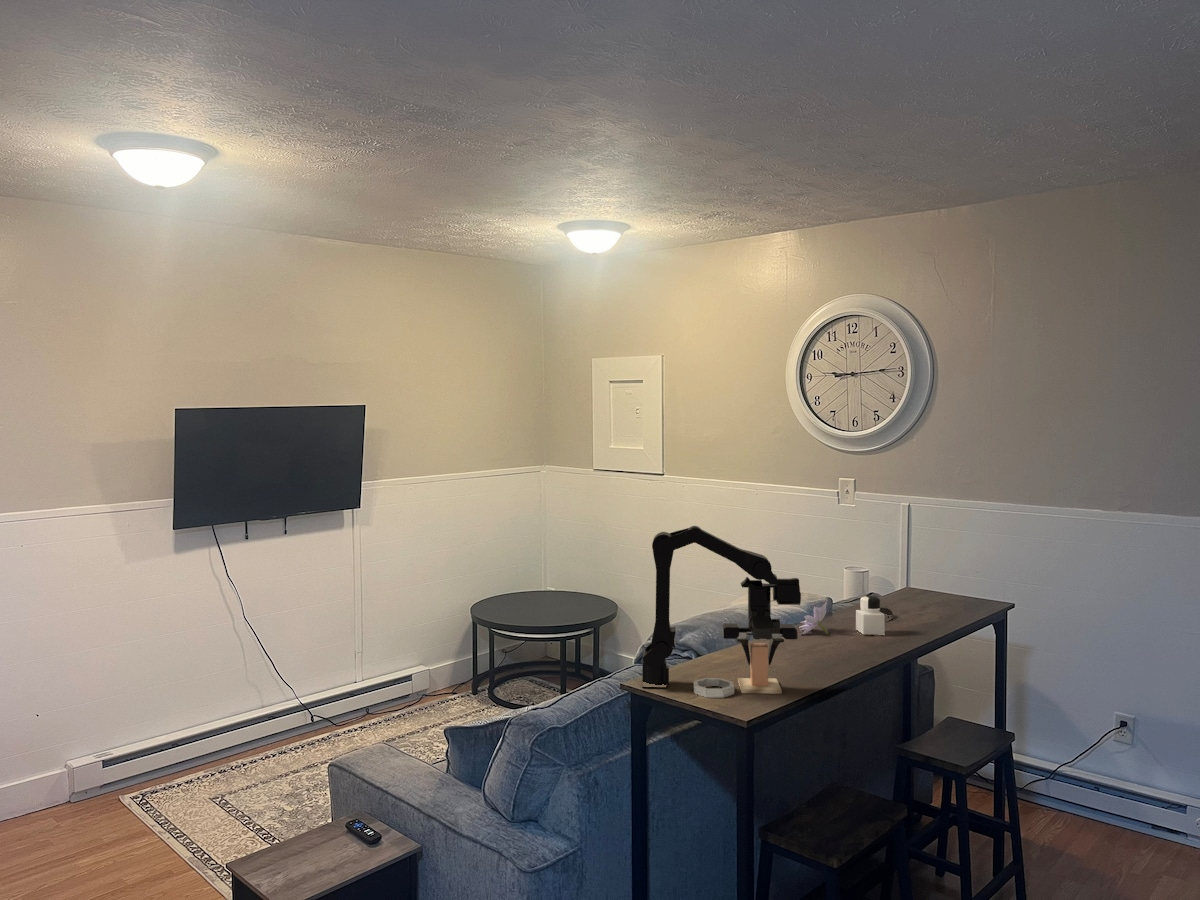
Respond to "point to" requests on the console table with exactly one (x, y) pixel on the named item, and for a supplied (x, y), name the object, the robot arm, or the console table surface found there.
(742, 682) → the maple board
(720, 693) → the metal ring
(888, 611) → the hairbrush
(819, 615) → the water lily
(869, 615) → the medicine bottle
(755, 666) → the peg
